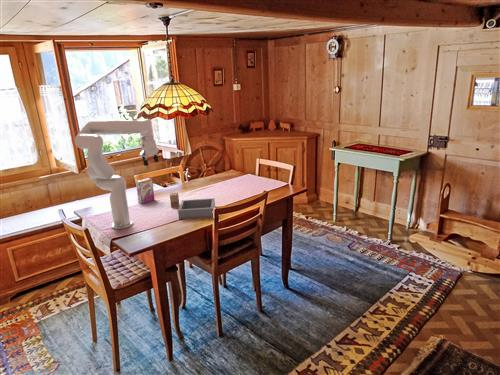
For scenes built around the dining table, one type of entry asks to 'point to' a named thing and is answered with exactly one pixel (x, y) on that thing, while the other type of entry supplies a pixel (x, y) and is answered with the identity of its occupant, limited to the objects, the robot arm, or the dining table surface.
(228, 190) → the dining table surface
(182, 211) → the bin
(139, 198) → the candy bar box
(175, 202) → the walnut block
